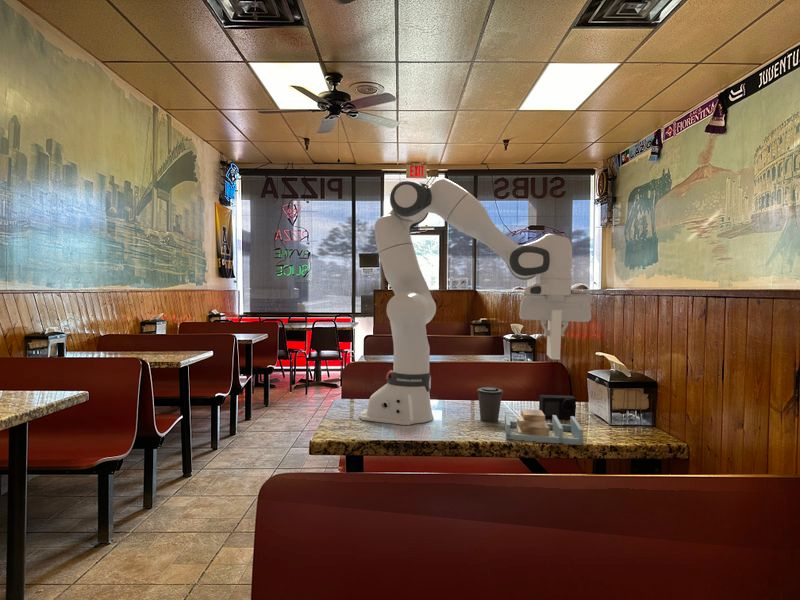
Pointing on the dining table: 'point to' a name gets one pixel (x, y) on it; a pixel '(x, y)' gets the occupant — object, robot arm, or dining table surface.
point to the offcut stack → (532, 423)
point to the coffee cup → (489, 403)
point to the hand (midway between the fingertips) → (553, 336)
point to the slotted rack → (555, 426)
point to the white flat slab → (554, 335)
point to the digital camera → (557, 406)
